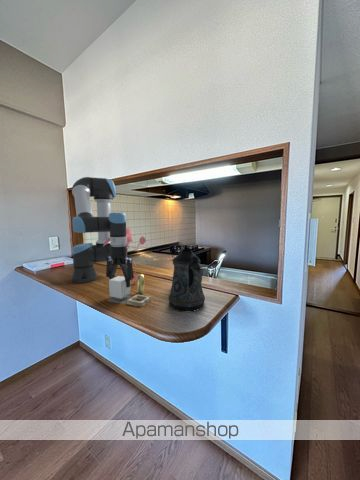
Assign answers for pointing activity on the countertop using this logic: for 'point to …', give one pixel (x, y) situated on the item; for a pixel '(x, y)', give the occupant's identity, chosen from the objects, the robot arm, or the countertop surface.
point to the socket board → (139, 303)
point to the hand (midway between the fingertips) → (120, 292)
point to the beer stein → (186, 283)
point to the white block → (117, 287)
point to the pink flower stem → (129, 239)
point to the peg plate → (119, 300)
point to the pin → (140, 283)
